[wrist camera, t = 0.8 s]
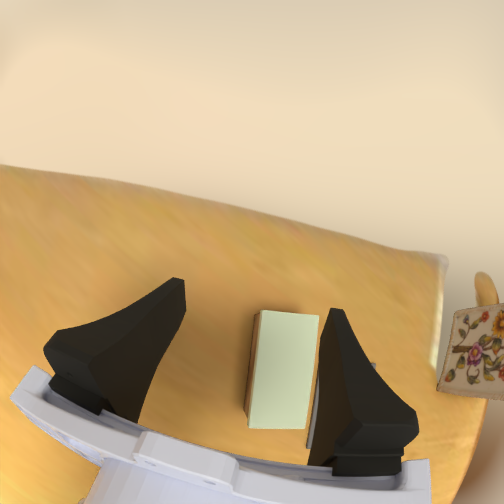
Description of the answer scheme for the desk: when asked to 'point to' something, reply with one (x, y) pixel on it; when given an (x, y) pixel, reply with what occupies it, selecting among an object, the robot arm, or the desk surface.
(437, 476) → the desk surface
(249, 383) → the box
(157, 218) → the desk surface
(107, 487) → the robot arm
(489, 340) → the floral patterned box
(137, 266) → the desk surface
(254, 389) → the lid
